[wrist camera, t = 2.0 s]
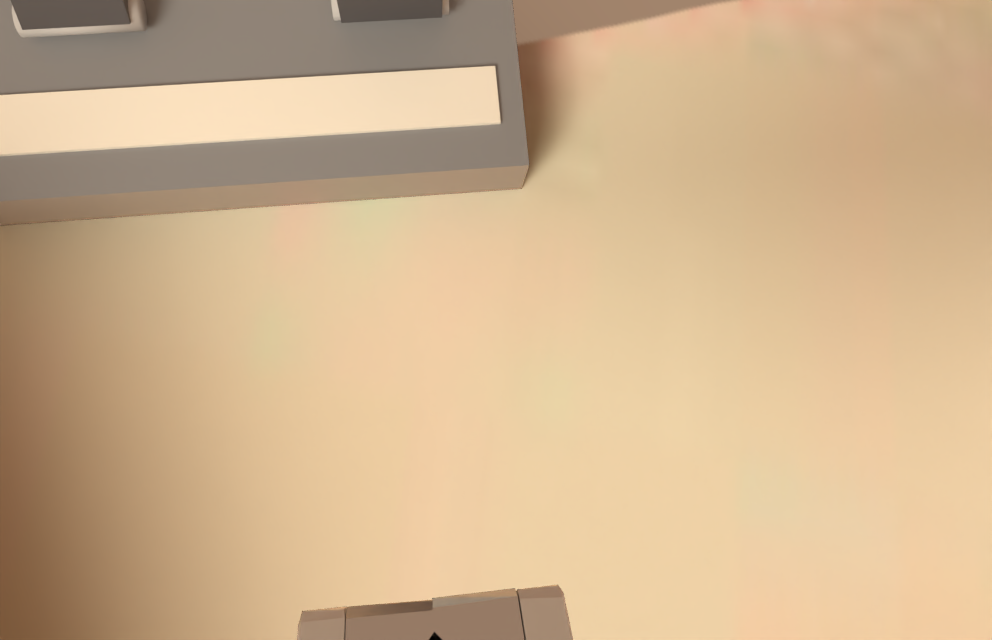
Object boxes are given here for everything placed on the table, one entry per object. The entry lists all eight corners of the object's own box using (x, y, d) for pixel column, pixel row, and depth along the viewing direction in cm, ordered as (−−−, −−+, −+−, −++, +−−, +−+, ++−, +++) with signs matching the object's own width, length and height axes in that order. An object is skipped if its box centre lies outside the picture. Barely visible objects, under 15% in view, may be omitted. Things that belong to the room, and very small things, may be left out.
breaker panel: (488, -146, 43) (492, -198, 39) (521, 188, 40) (529, 163, 37) (-7, -126, 41) (-46, -179, 37) (-3, 225, 38) (-44, 202, 35)
